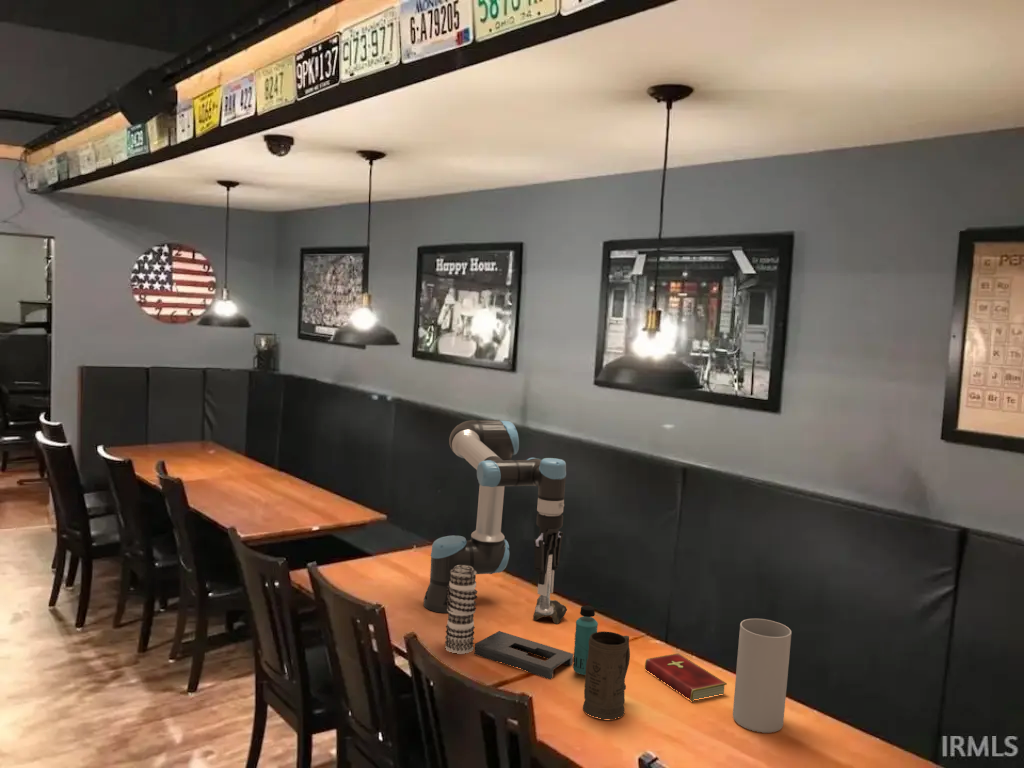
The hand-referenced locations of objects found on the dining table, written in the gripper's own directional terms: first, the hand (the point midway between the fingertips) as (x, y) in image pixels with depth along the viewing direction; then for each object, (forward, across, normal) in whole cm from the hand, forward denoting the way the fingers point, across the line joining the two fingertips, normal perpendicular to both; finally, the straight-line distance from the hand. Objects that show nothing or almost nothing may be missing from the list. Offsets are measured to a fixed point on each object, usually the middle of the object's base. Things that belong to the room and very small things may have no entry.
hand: (545, 593), depth 236 cm
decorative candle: (+22, -6, +25) cm, 34 cm away
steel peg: (+6, 0, 0) cm, 6 cm away
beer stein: (+22, -11, -27) cm, 36 cm away
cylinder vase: (+22, +7, -61) cm, 65 cm away
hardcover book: (+22, +17, -37) cm, 47 cm away
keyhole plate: (+21, 0, +6) cm, 22 cm away
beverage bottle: (+22, +2, -13) cm, 25 cm away
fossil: (+22, +34, +17) cm, 44 cm away
